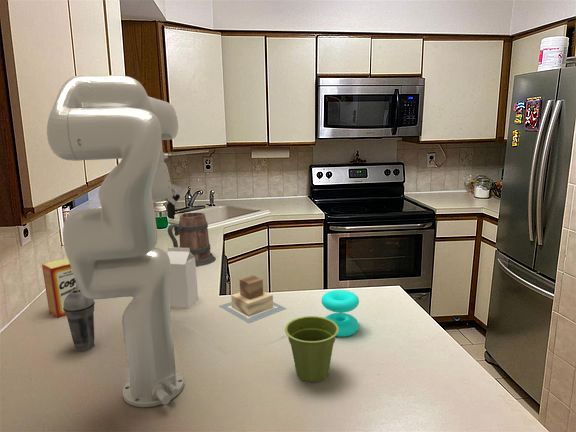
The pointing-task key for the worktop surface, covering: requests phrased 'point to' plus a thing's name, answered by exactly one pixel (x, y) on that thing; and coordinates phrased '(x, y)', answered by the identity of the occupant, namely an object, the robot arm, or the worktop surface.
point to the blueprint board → (254, 317)
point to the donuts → (342, 310)
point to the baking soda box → (58, 284)
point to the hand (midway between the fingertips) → (154, 221)
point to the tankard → (193, 237)
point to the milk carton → (182, 278)
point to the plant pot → (312, 346)
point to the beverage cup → (80, 319)
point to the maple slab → (252, 303)
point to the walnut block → (251, 287)
